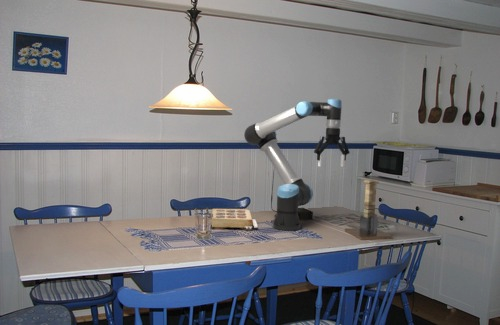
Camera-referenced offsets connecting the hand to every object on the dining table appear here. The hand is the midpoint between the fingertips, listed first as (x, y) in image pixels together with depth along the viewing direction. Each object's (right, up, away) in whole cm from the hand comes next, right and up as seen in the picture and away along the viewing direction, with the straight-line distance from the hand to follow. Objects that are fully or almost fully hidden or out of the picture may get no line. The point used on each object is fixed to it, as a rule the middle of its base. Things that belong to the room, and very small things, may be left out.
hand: (331, 166), depth 279 cm
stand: (+19, -36, -7) cm, 41 cm away
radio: (-21, -32, +28) cm, 47 cm away
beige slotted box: (-53, -33, +5) cm, 63 cm away
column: (+19, -28, -8) cm, 35 cm away
